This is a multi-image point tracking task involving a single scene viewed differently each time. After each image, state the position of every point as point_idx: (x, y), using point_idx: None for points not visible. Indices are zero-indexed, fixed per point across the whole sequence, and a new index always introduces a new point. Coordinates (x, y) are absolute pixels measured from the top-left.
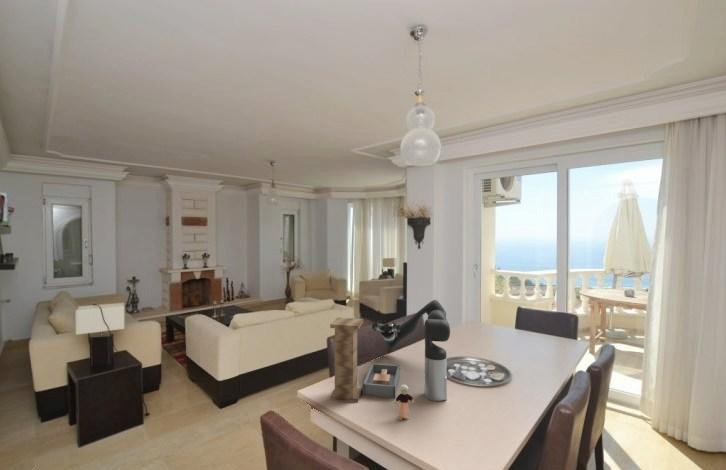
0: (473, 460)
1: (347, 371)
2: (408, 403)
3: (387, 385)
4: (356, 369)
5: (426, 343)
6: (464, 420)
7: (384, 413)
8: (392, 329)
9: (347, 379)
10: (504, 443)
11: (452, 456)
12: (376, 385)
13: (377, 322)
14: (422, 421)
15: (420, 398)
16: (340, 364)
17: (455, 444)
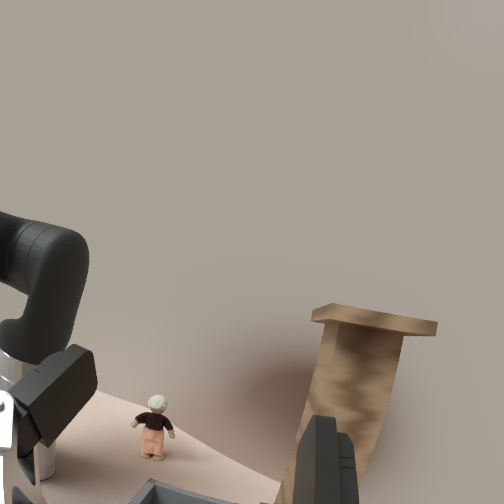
0: (97, 392)
1: None
2: (144, 428)
3: (173, 489)
4: (294, 476)
5: (76, 313)
6: None
7: (188, 473)
8: (39, 482)
9: None
10: None
11: (116, 402)
12: (211, 498)
13: (313, 438)
14: (117, 439)
15: (72, 477)
16: None
17: (99, 405)
